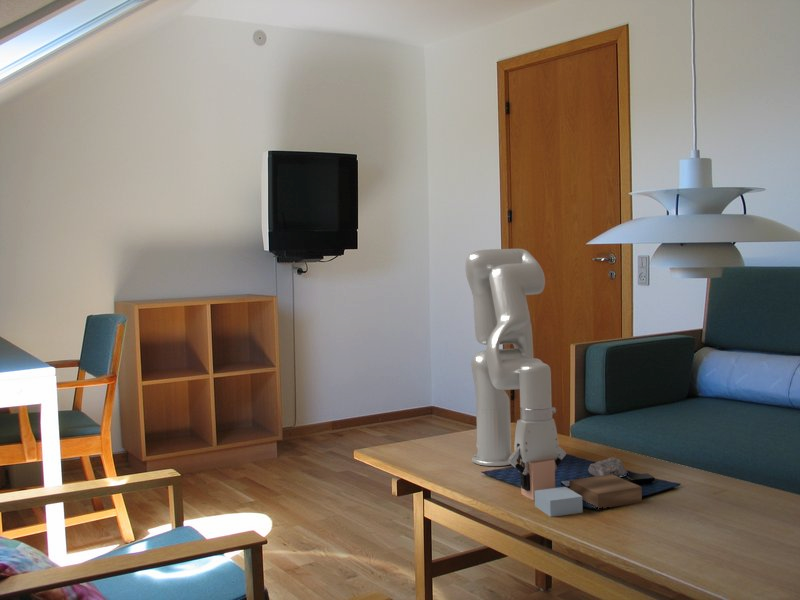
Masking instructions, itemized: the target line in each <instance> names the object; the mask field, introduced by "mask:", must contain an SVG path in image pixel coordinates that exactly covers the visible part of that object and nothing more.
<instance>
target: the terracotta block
mask: <svg viewBox="0 0 800 600" xmlns="http://www.w3.org/2000/svg"><path fill="white" fill-rule="evenodd" d="M520 461H521V460H520ZM528 474H529V475H530V491H526V490H525V489H523V488H522V486H521V485H520V491H521V495H522V496H524V497H526V498H528V499H529V500H531V501H534V502H535V491H536V490H544V489H551V488H556V470H555V460H552V459H551V460H544V461H537V462H530V463H529V471H528Z"/></svg>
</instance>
